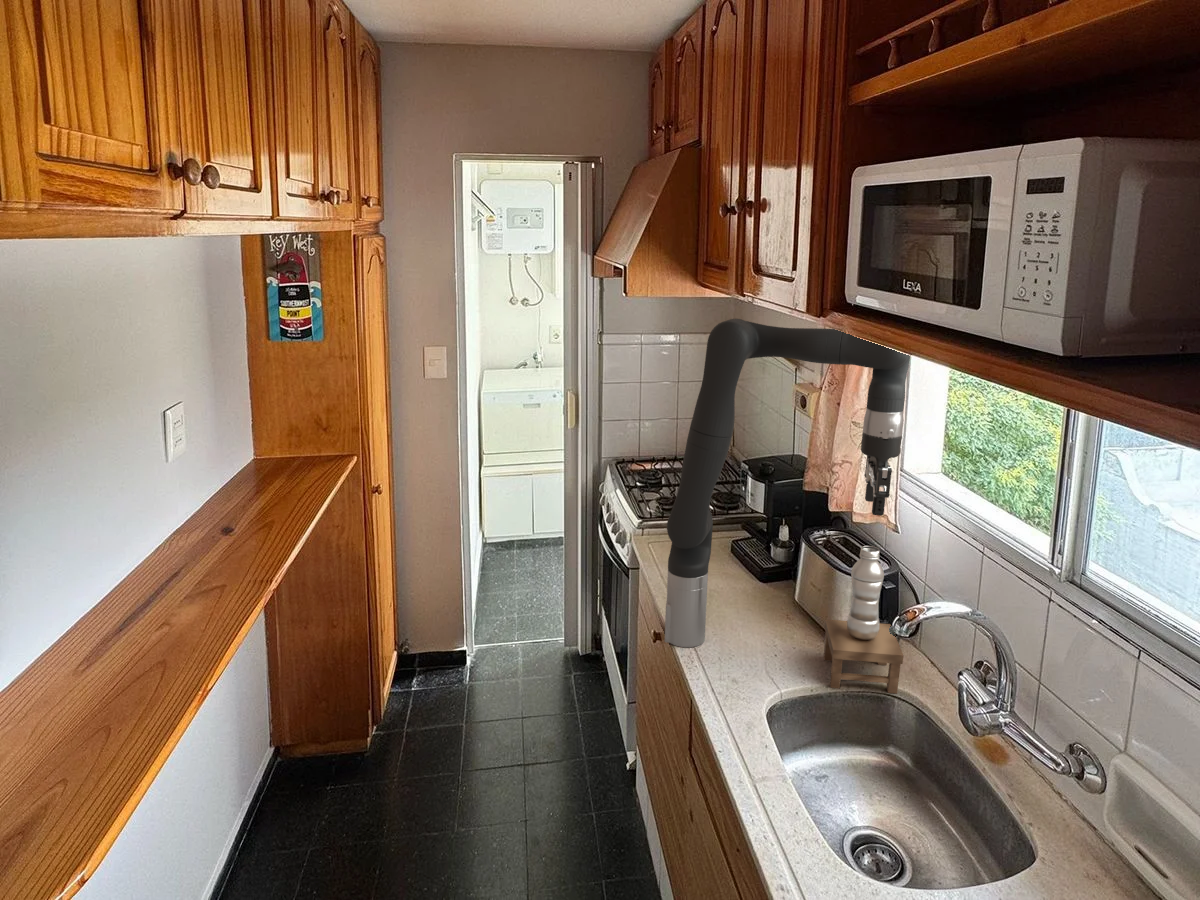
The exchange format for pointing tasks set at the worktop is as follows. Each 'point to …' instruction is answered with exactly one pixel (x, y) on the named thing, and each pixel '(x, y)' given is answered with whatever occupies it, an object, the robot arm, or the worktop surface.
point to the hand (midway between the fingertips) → (873, 507)
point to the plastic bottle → (865, 595)
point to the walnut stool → (862, 654)
